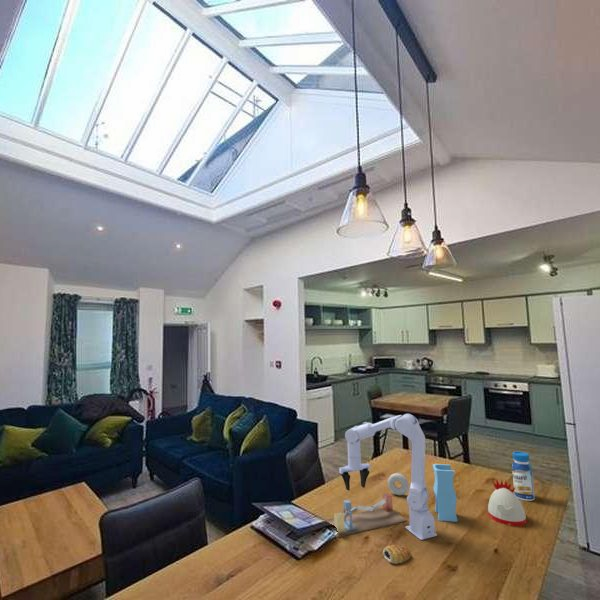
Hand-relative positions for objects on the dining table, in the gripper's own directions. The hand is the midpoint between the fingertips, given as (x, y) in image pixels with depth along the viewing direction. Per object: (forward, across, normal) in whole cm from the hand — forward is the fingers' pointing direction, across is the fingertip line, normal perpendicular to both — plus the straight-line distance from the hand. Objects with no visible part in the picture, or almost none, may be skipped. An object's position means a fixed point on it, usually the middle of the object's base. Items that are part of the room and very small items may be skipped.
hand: (355, 488), depth 152 cm
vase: (+11, -34, +17) cm, 39 cm away
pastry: (+11, +3, +32) cm, 34 cm away
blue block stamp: (+10, +9, +9) cm, 16 cm away
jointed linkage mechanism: (+10, 0, +8) cm, 13 cm away
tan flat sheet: (+10, 0, +8) cm, 13 cm away
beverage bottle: (+11, -81, +17) cm, 83 cm away
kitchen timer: (+11, -57, +27) cm, 64 cm away
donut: (+11, -28, -8) cm, 31 cm away
